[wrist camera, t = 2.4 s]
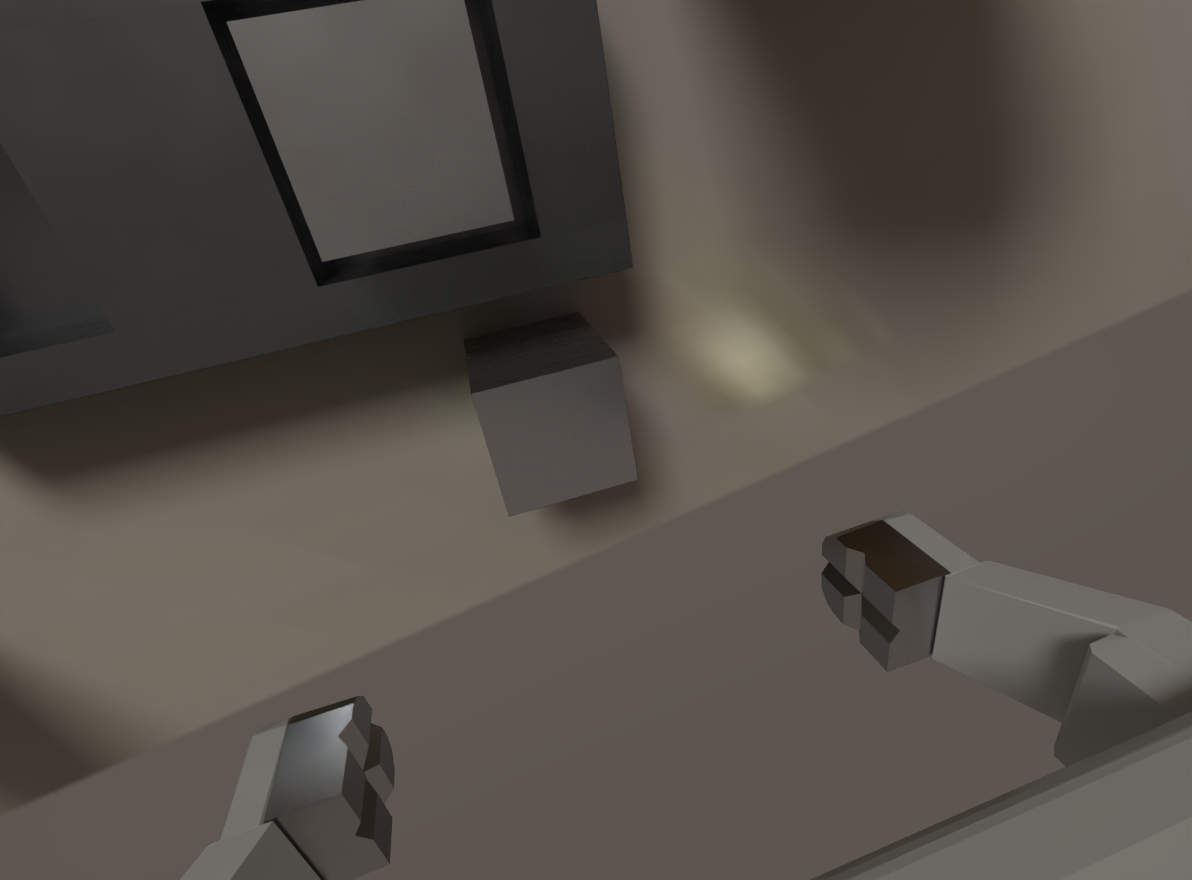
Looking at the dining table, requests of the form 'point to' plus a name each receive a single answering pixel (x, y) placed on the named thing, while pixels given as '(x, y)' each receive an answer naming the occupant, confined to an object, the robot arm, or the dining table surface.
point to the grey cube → (551, 411)
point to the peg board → (255, 193)
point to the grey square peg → (378, 120)
